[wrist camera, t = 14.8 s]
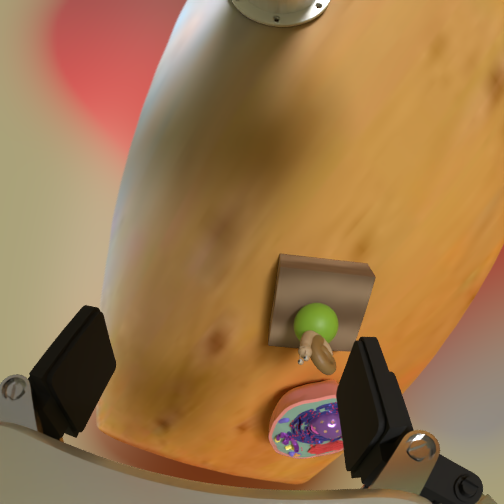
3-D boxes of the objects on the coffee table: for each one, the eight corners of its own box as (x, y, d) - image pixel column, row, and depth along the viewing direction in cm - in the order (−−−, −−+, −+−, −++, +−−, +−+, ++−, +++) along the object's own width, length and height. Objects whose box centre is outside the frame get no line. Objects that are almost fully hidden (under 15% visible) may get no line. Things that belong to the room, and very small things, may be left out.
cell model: (251, 415, 53) (247, 463, 43) (300, 346, 46) (304, 401, 35) (326, 432, 55) (331, 477, 44) (384, 371, 47) (401, 420, 37)
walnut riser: (279, 253, 40) (280, 266, 36) (367, 263, 40) (375, 277, 36) (268, 328, 44) (268, 345, 41) (346, 334, 44) (351, 351, 40)
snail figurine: (312, 281, 37) (325, 344, 26) (342, 313, 38) (362, 378, 27) (278, 306, 38) (279, 374, 27) (310, 336, 40) (318, 404, 29)
